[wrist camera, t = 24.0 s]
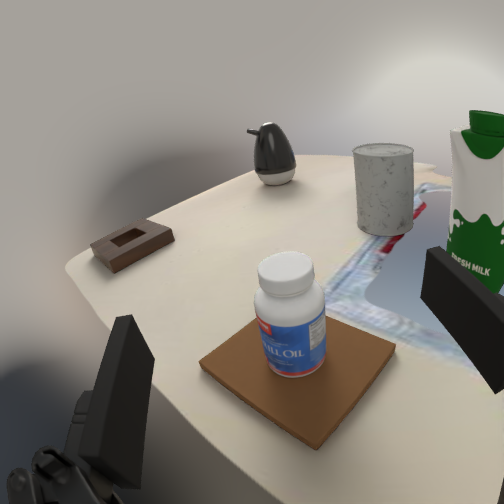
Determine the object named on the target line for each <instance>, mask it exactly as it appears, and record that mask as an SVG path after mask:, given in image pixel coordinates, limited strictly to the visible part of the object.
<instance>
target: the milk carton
mask: <svg viewBox="0 0 504 504" xmlns="http://www.w3.org/2000/svg"><path fill="white" fill-rule="evenodd" d="M469 118H470V126H468V125H464V126H462V127H459V128H455V129H452V130H450V138H451V151H452V191H451V192H452V193H451V209H450V221H449V232H448V241H447V250H446V252H447V253H448V254H450V255H451V256H452V257H453V258H454V259H456V260H457V261H458V262H459V263H460V264H461V265H462V266H464V267H465V268H466V269H467V270H468V271H469V272H470V273H472V274H473V275H474V276H475V277H476V278H477V279H478V280H479V281H480V282H481V283H483V284H484V285H485V286H486V287H487V288H488V289H489V290H490V291H491V292H492V293H493V294H494V293H496V292H497V293H499V291H500V289H501V287H502V286H503V284H504V115H503V114H498V113H493V112H487V111H478V110H470V111H469Z"/></svg>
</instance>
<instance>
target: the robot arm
mask: <svg viewBox="0 0 504 504" xmlns="http://www.w3.org/2000/svg"><path fill="white" fill-rule="evenodd" d="M420 298H421V299H422V300H423V302H424V303H425V304H426V305H427V306H428V307H429V309H430V310H431V311H432V312H433V314H434V315H435V316H436V317H437V318H438V319H439V321H440V322H441V323H442V324H443V325H444V327H445V328H446V329H447V331H448V332H449V333H450V334H451V336H452V337H453V338H454V339H455V341H456V342H457V343H458V345H459V346H460V347H461V348H462V350H463V351H464V352H465V354H466V355H467V356H468V358H469V359H470V360H471V362H472V363H473V364H474V366H475V367H476V368H477V370H478V371H479V372H480V374H481V375H482V376H483V378H484V379H485V381H486V382H487V383H488V385H489V386H490V388H491V389H492V391H493V392H494V393H495V394H497V393H498V392H500V391H501V390H503V389H504V296H502V295H500V294H498V293H497V292H496V293H494V294H493V293H492V292H491V291H490V290H489V289H488V288H487V287H486V286H485V285H484V284H483V283H481V282H480V281H479V280H478V279H477V278H476V277H475V276H474V275H473V274H472V273H470V272H469V271H468V270H467V269H466V268H465V267H464V266H462V265H461V264H460V263H459V262H458V261H457V260H456V259H454V258H453V257H452V256H451V255H450V254H448V253H447V252H446V251H445V250H444V249H442V248H441V247H440V246H438V247H434V248H430V249H427V253H426V261H425V269H424V277H423V284H422V290H421V297H420ZM154 361H155V358H154V357H153V355H152V353H151V351H150V349H149V347H148V345H147V343H146V341H145V340H144V338H143V336H142V334H141V332H140V330H139V328H138V326H137V324H136V322H135V320H134V318H133V316H132V314H131V315H126V316H120V317H116V319H115V322H114V325H113V328H112V331H111V334H110V337H109V340H108V343H107V346H106V349H105V353H104V356H103V359H102V362H101V365H100V369H99V372H98V375H97V379H96V382H95V386H94V389H93V390H91V391H84V392H83V394H82V395H81V397H80V398H79V399H78V401H77V404H76V407H75V410H74V415H73V418H72V421H71V422H72V424H71V425H70V429H69V433H68V436H67V440H66V444H65V449H64V453H62V452H61V451H60V450H59V449H58V448H56V447H54V446H44V447H42V448H40V449H39V450H38V451H37V452H36V453H35V455H34V457H33V459H32V464H31V465H32V471H33V472H34V473H35V474H31V473H30V472H28V471H27V470H26V469H23V468H16V469H14V470H13V471H12V472H11V473H10V474H9V476H8V479H7V492H8V499H9V504H124V503H123V502H122V501H121V499H120V498H119V497H118V495H117V494H116V493H115V492H114V491H113V483H114V484H116V485H117V486H119V487H120V488H122V489H141V475H142V463H143V451H144V440H145V431H146V422H147V413H148V404H149V397H150V389H151V382H152V375H153V368H154ZM497 504H504V479H503V483H502V487H501V492H500V496H499V500H498V503H497Z"/></svg>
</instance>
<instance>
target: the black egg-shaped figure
mask: <svg viewBox="0 0 504 504" xmlns="http://www.w3.org/2000/svg"><path fill="white" fill-rule="evenodd" d="M247 133H250V134H253V135H256V141H255V147H254V167H255V172H256V173H257V175H258V177H259V178H260V180H261V181H262V182H264V183H265V184H268V185H281V184H285V183H287V182H288V181H290V180H291V179H292V177H293V176H294V173H295V168H296V160H295V157H294V153H293V150H292V148H291V145H290V143H289V141H288V139H287V137H286V135H285V134H284V132H283V131H282V129H281V128H280V127H279V126H278V125H277V124H275V123H265V124H263V125H262V126H261V127H260V129H259V130H252V129H248V130H247Z"/></svg>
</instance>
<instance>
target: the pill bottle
mask: <svg viewBox="0 0 504 504" xmlns="http://www.w3.org/2000/svg"><path fill="white" fill-rule="evenodd" d="M258 277H259V284H260V287H259V288H258V290H257V291H256V294H255V297H254V306H255V312H256V316H257V321H258V325H259V330H260V334H261V339H262V343H263V348H264V353H265V358H266V361H267V363H268V365H269V367H270V368H271V369H272V370H273V371H274V372H275V373H277V374H279V375H281V376H284V377H289V378H297V377H303V376H306V375H309V374H311V373H313V372H314V371H315V370H317V369H318V368H319V367H320V366H321V365H322V363H323V361H324V359H325V356H326V319H325V297H324V291H323V288H322V286H321V285H320V284H319V283H318V282H317V281H316V280H315V279H314V278H315V274H314V267H313V261H312V259H311V258H310V257H309V256H307V255H306V254H303V253H300V252H293V251H288V252H280V253H276V254H273V255H271V256H268V257H267V258H265V259H264V260H262V261H261V263H260V264H259V266H258Z"/></svg>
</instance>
